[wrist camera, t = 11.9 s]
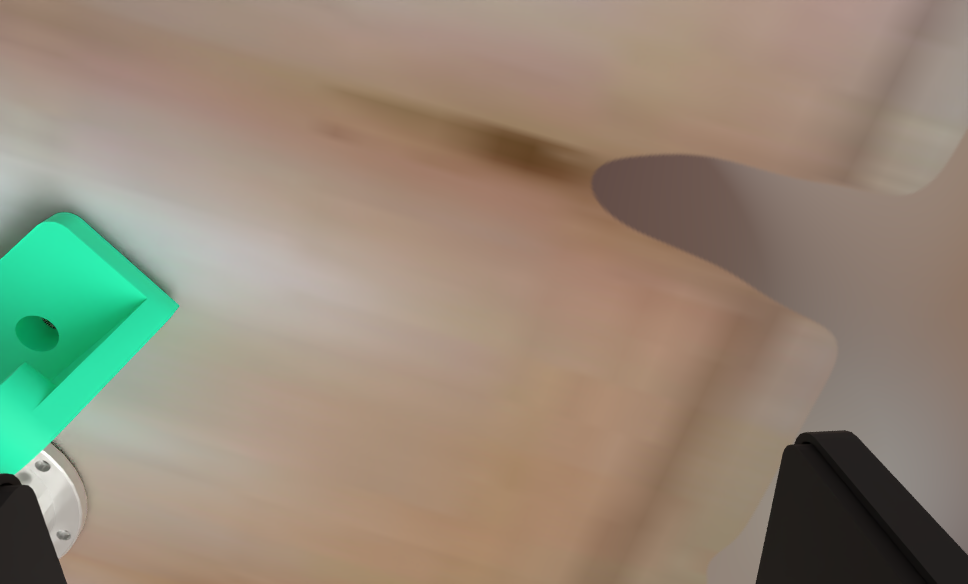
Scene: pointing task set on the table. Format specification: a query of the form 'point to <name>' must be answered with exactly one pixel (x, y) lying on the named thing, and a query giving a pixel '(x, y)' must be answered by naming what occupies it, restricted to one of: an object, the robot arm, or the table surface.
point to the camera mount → (65, 329)
